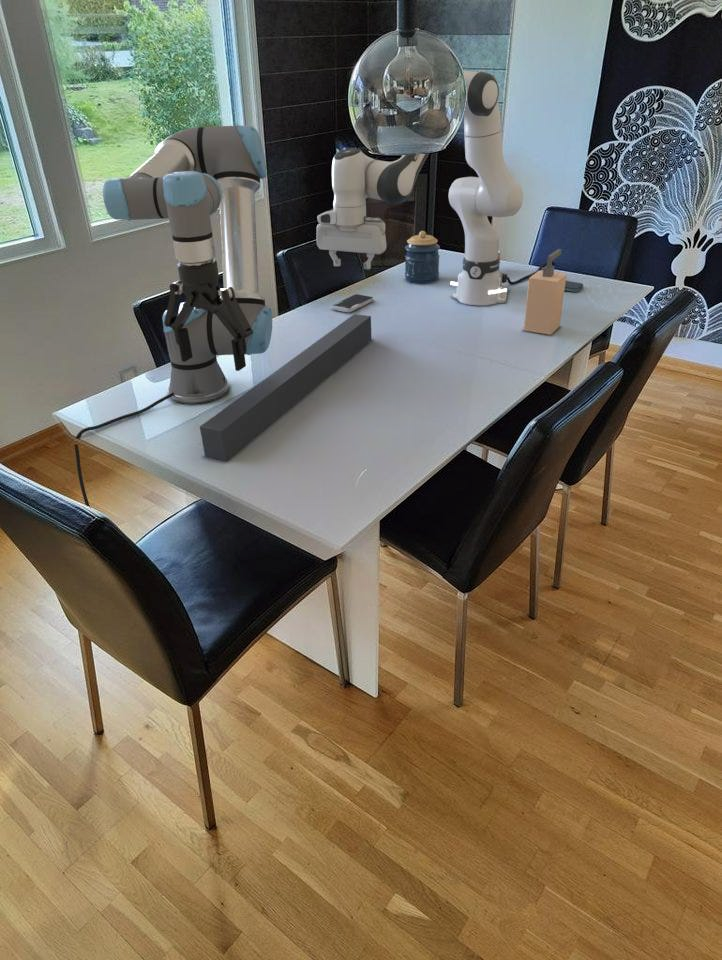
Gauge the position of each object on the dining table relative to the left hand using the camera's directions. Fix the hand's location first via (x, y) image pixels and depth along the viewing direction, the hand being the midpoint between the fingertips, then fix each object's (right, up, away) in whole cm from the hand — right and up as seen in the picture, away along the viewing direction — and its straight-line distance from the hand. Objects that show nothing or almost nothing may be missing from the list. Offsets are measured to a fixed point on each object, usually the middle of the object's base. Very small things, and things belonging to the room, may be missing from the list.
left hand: (213, 363), depth 140 cm
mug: (+81, +56, +120) cm, 155 cm away
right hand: (+28, +36, +49) cm, 67 cm away
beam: (+15, 0, +37) cm, 40 cm away
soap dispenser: (+88, +24, +69) cm, 114 cm away
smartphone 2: (+103, +45, +102) cm, 151 cm away
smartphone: (+28, +36, +92) cm, 103 cm away
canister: (+54, +52, +115) cm, 138 cm away
